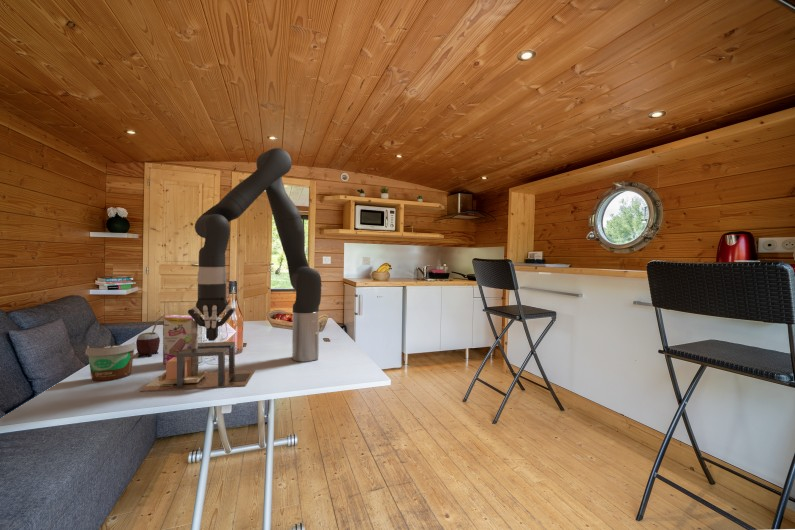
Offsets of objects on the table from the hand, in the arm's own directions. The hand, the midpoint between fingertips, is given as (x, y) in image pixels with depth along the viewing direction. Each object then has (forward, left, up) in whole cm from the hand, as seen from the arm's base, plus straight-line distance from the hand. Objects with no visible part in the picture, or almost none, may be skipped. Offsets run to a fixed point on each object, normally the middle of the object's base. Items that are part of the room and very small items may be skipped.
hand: (212, 340), depth 103 cm
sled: (+8, 0, -11) cm, 14 cm away
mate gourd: (+31, -32, -12) cm, 46 cm away
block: (+9, 0, -10) cm, 14 cm away
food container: (+30, -6, -12) cm, 33 cm away
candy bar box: (+15, -19, -12) cm, 27 cm away
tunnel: (+3, 0, -12) cm, 12 cm away
